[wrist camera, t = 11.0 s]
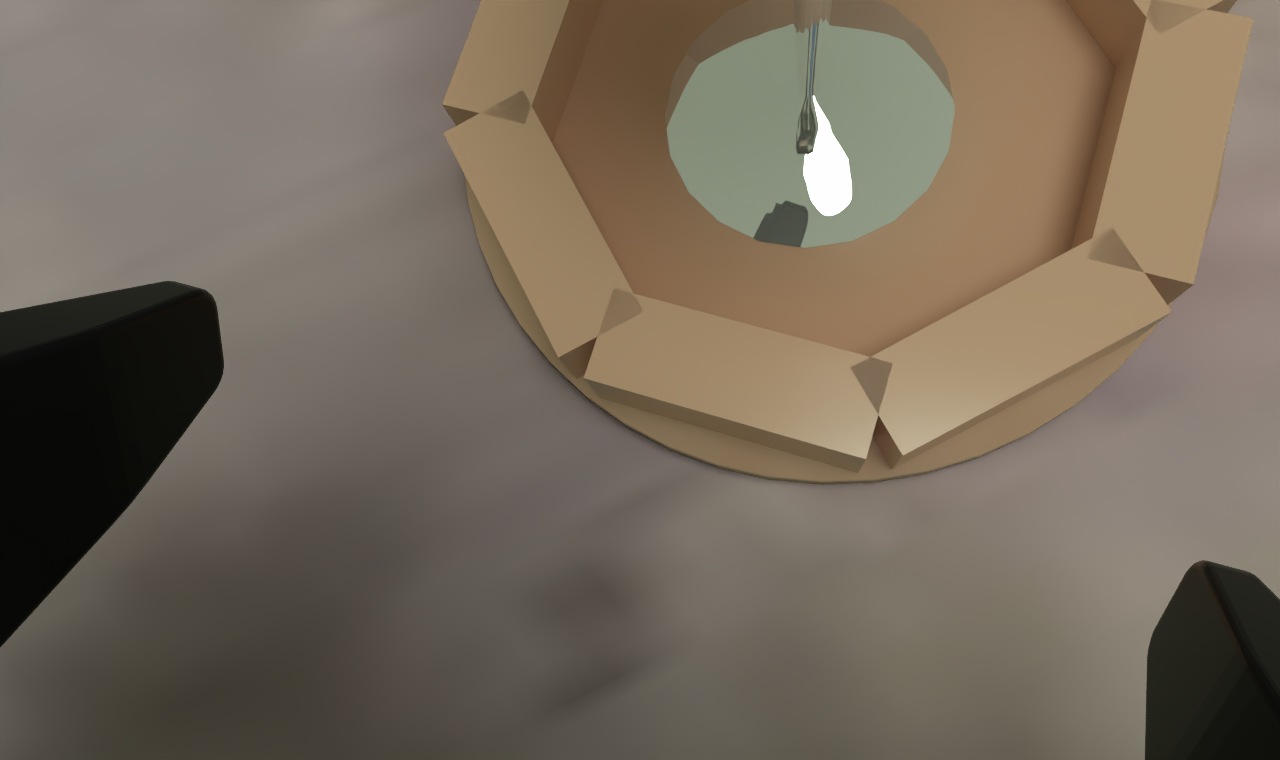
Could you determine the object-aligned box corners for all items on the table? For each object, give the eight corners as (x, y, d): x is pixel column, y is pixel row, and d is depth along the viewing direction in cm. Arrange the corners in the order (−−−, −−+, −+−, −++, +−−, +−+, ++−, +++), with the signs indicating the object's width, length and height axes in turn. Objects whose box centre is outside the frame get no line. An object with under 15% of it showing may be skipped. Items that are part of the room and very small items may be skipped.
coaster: (1380, 247, 16) (1460, 198, 15) (671, 625, 17) (657, 626, 15) (951, -301, 20) (969, -400, 18) (364, 17, 20) (320, -46, 18)
